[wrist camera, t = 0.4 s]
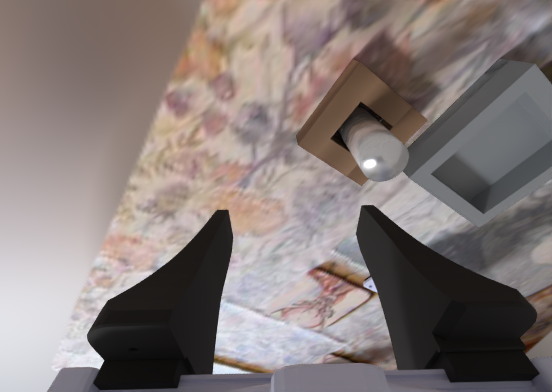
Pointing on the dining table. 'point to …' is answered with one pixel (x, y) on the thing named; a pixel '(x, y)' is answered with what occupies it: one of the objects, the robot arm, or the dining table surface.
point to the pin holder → (341, 103)
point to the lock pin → (373, 146)
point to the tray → (489, 143)
